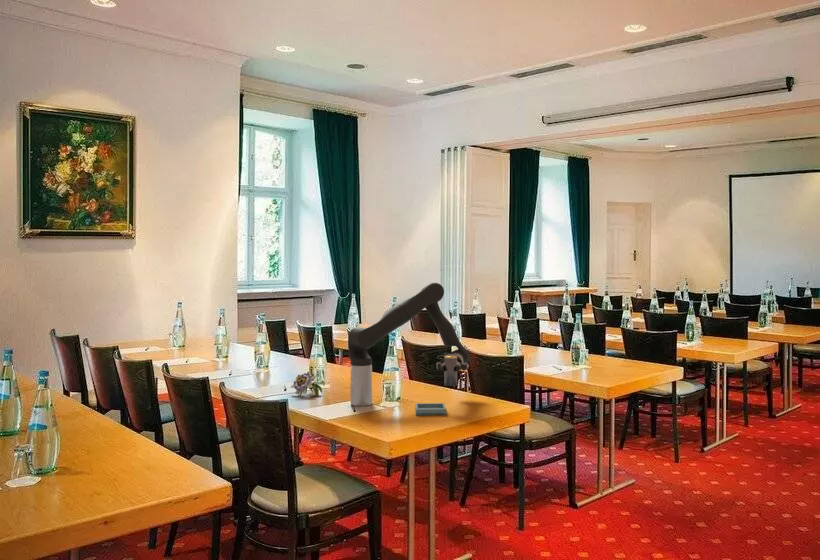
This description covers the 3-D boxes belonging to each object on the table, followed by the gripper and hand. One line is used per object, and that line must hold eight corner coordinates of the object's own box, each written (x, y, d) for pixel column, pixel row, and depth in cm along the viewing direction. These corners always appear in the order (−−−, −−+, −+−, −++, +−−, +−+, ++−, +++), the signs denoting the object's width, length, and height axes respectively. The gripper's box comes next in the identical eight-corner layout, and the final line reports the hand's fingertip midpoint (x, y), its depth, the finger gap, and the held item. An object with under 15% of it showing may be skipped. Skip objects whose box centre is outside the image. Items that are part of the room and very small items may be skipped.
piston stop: (444, 386, 296) (444, 356, 296) (444, 383, 301) (444, 355, 301) (457, 386, 296) (457, 356, 296) (456, 383, 301) (456, 355, 301)
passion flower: (300, 409, 332) (283, 385, 333) (315, 399, 342) (299, 376, 344) (316, 396, 325) (299, 372, 327) (332, 387, 336) (315, 363, 337)
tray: (416, 415, 290) (416, 409, 290) (415, 409, 302) (415, 403, 302) (446, 415, 290) (446, 409, 290) (444, 409, 302) (444, 403, 302)
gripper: (437, 353, 313) (432, 359, 297) (470, 354, 311) (467, 360, 294) (437, 371, 314) (432, 377, 297) (470, 371, 311) (467, 378, 295)
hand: (450, 368), depth 296 cm, fingers closed on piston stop, 5 cm apart
